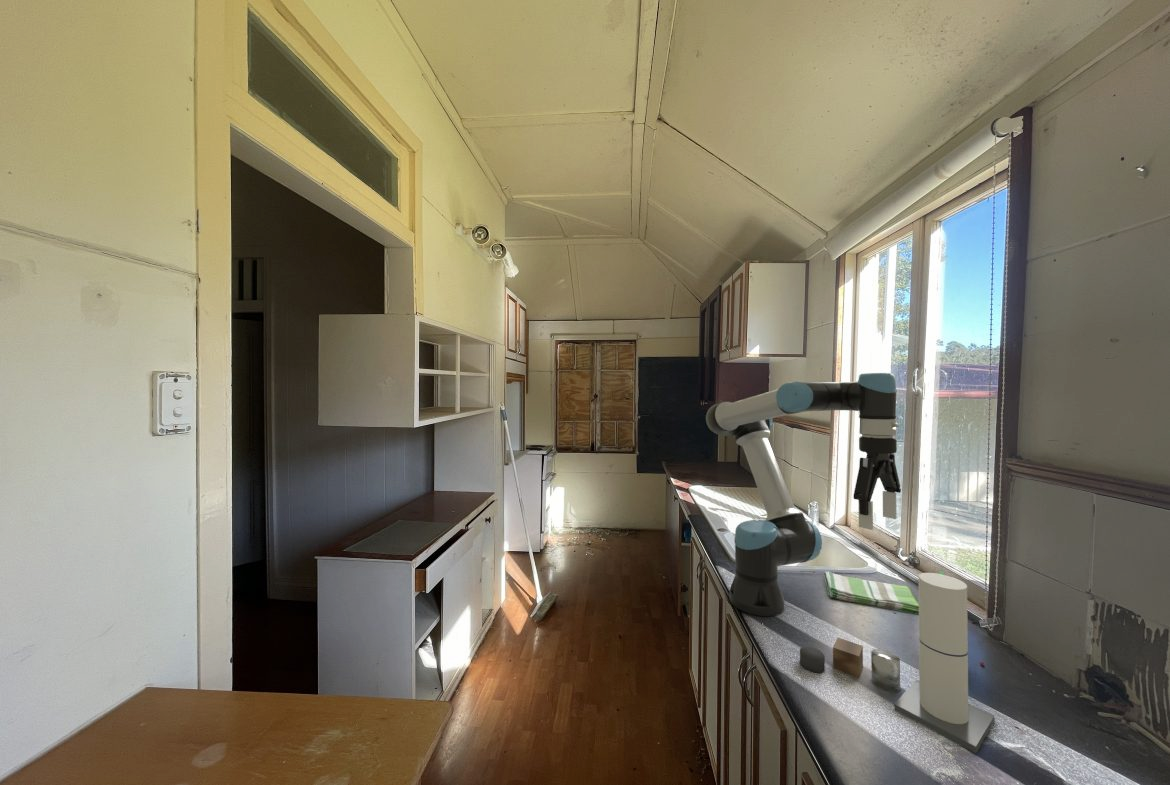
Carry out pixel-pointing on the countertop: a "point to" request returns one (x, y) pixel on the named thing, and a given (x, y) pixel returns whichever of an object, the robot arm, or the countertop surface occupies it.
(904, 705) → the plate
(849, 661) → the walnut block
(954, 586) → the cylindrical container
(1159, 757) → the countertop surface
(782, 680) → the countertop surface
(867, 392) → the robot arm
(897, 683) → the grey metal tin
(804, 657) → the black rubber puck
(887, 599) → the dish towel
